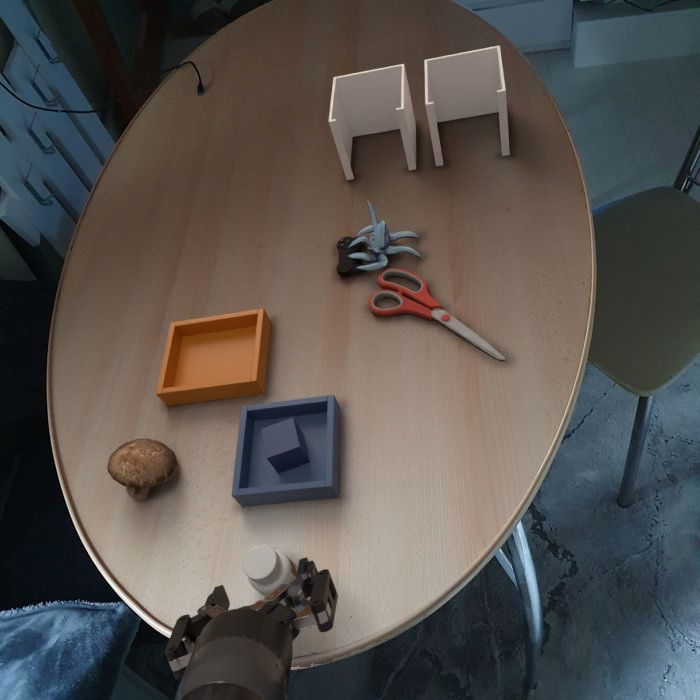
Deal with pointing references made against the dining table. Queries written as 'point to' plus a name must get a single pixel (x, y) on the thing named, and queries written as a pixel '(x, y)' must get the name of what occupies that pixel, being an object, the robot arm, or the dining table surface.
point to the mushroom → (142, 465)
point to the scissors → (423, 307)
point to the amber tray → (215, 358)
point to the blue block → (285, 445)
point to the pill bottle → (268, 569)
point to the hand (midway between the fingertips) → (264, 580)
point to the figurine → (378, 246)
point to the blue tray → (297, 483)
